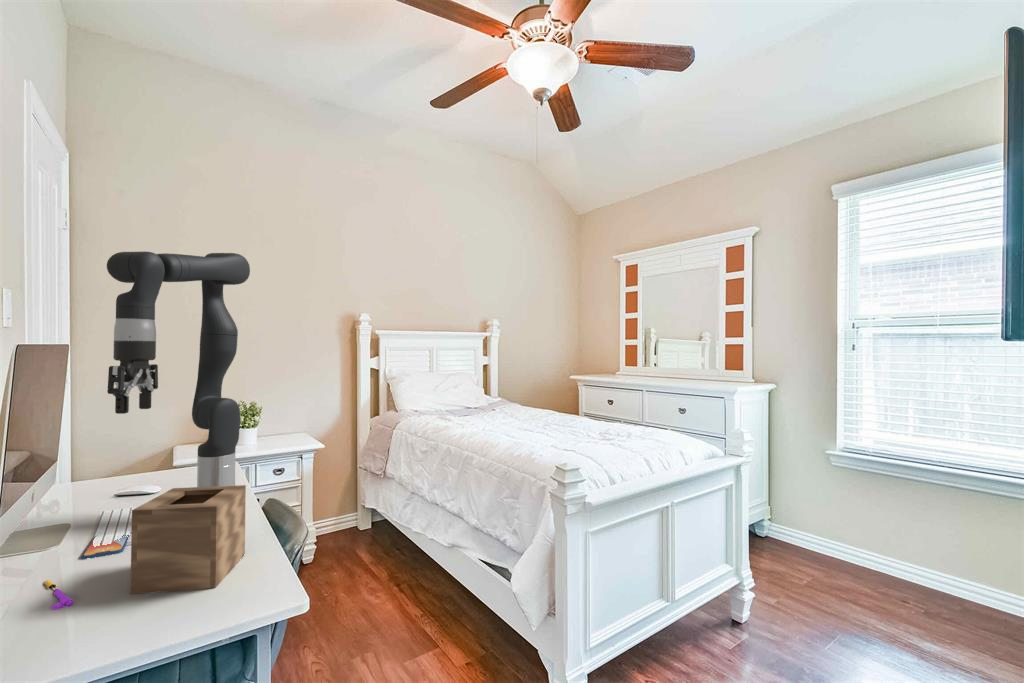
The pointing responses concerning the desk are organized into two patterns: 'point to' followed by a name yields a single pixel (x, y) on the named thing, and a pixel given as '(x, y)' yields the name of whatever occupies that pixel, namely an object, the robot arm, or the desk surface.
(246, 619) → the desk surface
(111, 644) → the desk surface
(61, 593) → the linear piston actuator
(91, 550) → the smartphone
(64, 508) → the desk surface
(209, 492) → the box
